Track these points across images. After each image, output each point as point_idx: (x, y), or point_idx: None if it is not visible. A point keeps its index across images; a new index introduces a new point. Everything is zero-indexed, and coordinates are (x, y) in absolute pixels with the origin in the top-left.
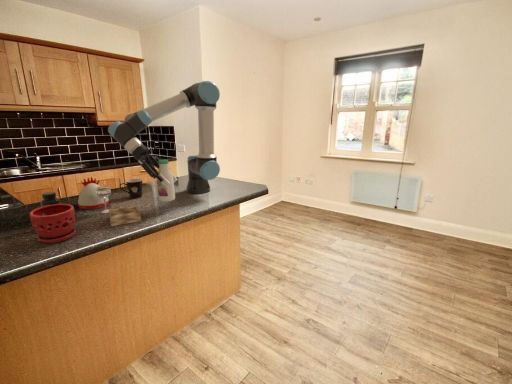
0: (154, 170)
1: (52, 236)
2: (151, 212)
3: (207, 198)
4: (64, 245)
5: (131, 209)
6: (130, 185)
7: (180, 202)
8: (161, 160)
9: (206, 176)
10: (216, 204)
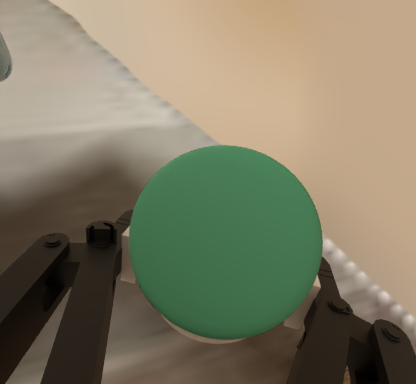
0: (343, 359)
1: None
2: (236, 353)
3: (70, 138)
4: None
5: None
6: None
7: None
8: (276, 253)
9: (8, 57)
10: (155, 102)
